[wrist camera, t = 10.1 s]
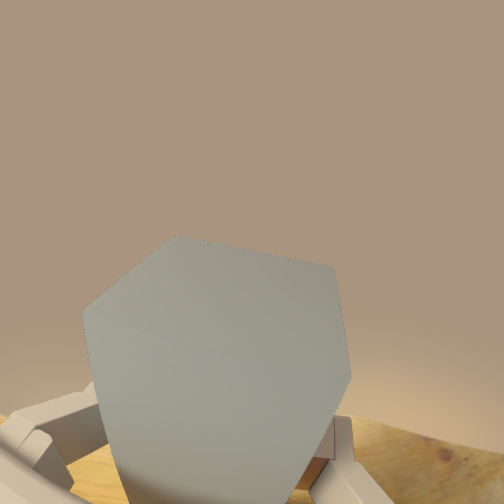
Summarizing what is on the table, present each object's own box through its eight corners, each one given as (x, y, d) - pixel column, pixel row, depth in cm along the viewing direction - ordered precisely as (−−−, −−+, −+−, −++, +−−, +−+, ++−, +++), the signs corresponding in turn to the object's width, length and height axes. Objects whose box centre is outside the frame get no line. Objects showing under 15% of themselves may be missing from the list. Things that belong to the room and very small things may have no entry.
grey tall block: (140, 529, 8) (81, 310, 4) (172, 457, 12) (175, 235, 8) (247, 558, 8) (351, 377, 4) (263, 479, 11) (334, 266, 8)
